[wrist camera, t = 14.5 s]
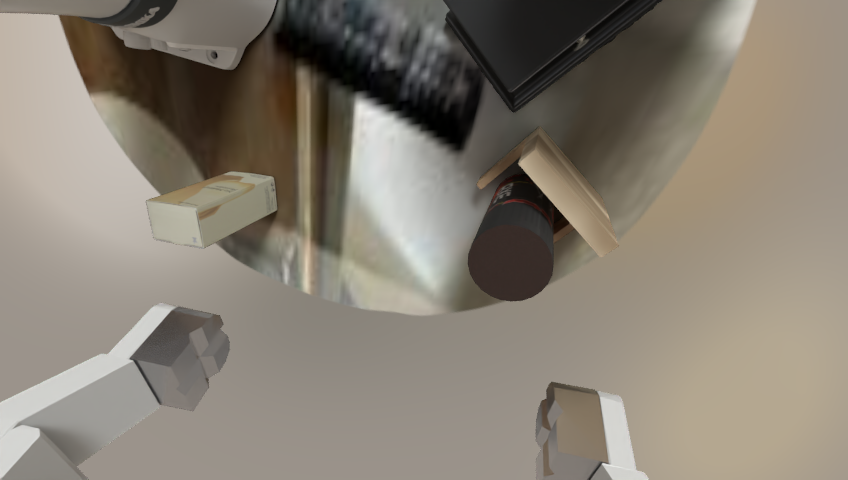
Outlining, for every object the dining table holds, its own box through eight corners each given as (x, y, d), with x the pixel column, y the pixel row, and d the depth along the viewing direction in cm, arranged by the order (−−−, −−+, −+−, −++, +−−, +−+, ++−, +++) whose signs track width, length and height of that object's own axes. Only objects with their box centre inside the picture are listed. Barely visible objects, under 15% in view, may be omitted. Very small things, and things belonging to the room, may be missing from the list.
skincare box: (275, 175, 50) (198, 207, 40) (278, 210, 52) (206, 250, 41) (228, 170, 52) (142, 199, 41) (233, 204, 54) (151, 241, 43)
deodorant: (521, 161, 42) (506, 207, 29) (566, 201, 42) (572, 264, 29) (481, 203, 45) (451, 263, 31) (524, 240, 45) (511, 316, 32)
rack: (539, 242, 45) (535, 299, 34) (480, 176, 44) (457, 214, 33) (602, 197, 41) (619, 246, 31) (540, 125, 40) (535, 149, 30)
